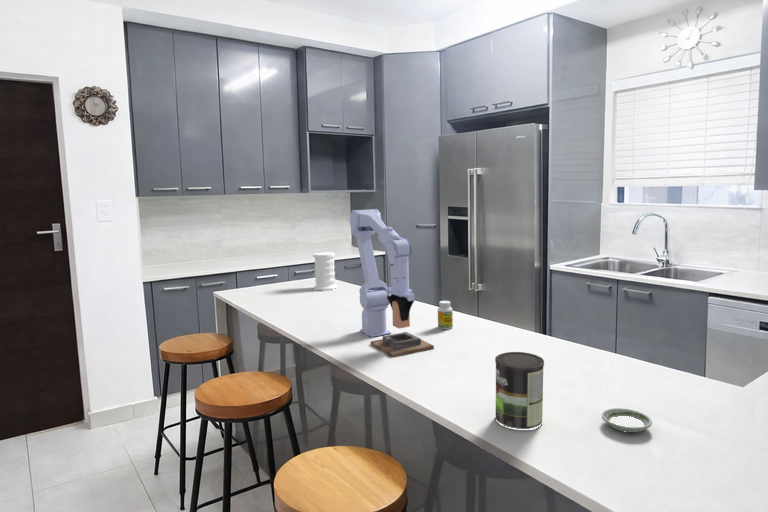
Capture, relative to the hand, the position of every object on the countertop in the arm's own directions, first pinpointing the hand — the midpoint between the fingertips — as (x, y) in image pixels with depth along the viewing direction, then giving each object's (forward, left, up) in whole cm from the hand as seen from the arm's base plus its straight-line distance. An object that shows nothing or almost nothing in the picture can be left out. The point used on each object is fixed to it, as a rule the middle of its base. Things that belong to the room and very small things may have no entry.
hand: (400, 318), depth 167 cm
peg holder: (0, 0, -9) cm, 9 cm away
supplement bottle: (-10, +24, -10) cm, 28 cm away
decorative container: (-102, +14, -10) cm, 103 cm away
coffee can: (+59, -4, -10) cm, 60 cm away
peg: (0, 0, -2) cm, 2 cm away
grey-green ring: (+73, +13, -10) cm, 75 cm away
